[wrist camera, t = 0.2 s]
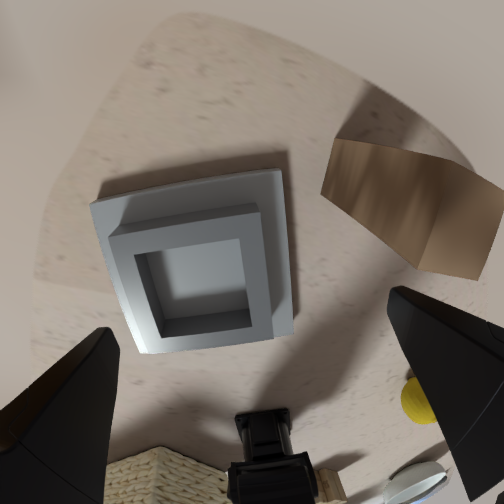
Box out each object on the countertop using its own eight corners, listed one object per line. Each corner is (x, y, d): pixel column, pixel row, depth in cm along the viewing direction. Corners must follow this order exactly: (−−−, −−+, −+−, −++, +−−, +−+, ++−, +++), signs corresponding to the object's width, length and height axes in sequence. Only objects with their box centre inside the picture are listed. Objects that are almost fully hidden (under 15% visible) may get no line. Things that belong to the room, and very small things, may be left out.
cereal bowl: (445, 452, 52) (455, 470, 45) (399, 484, 56) (406, 502, 50) (418, 452, 47) (429, 475, 40) (364, 487, 51) (372, 509, 45)
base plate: (290, 323, 27) (300, 352, 23) (143, 343, 26) (135, 372, 23) (277, 167, 21) (289, 176, 18) (96, 199, 21) (74, 214, 17)
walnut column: (369, 206, 23) (477, 280, 11) (320, 194, 22) (417, 269, 11) (383, 154, 22) (508, 193, 10) (334, 138, 21) (452, 160, 9)
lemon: (428, 357, 32) (458, 399, 25) (424, 382, 34) (449, 421, 27) (392, 374, 32) (419, 421, 25) (390, 398, 35) (413, 441, 27)
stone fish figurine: (382, 515, 59) (383, 516, 67) (451, 481, 57) (443, 487, 65) (379, 503, 64) (379, 506, 71) (446, 470, 61) (439, 477, 69)
